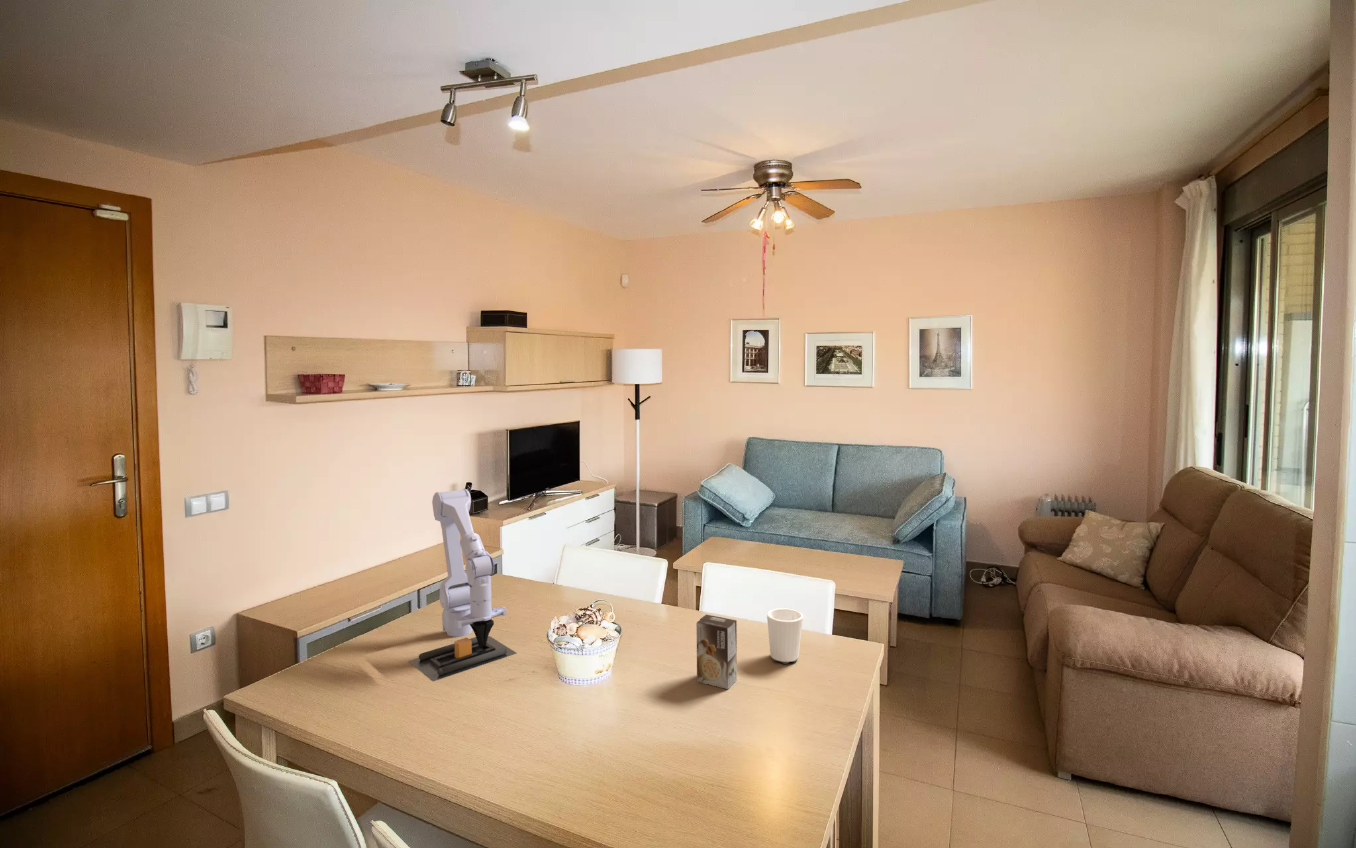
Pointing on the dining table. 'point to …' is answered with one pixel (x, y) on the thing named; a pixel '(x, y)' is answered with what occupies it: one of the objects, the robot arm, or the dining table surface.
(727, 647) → the coffee box
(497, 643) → the plate
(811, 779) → the dining table surface
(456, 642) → the orange rectangular box
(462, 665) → the grey rails and frame
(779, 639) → the cup
